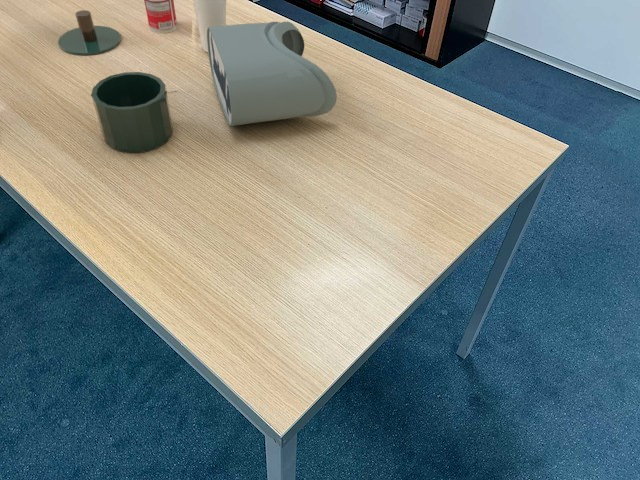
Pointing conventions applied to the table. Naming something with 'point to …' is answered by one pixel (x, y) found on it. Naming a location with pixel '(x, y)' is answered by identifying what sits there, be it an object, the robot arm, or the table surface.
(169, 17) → the pill bottle
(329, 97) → the gray curved housing
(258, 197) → the table surface
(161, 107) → the pot
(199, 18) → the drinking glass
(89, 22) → the lid
